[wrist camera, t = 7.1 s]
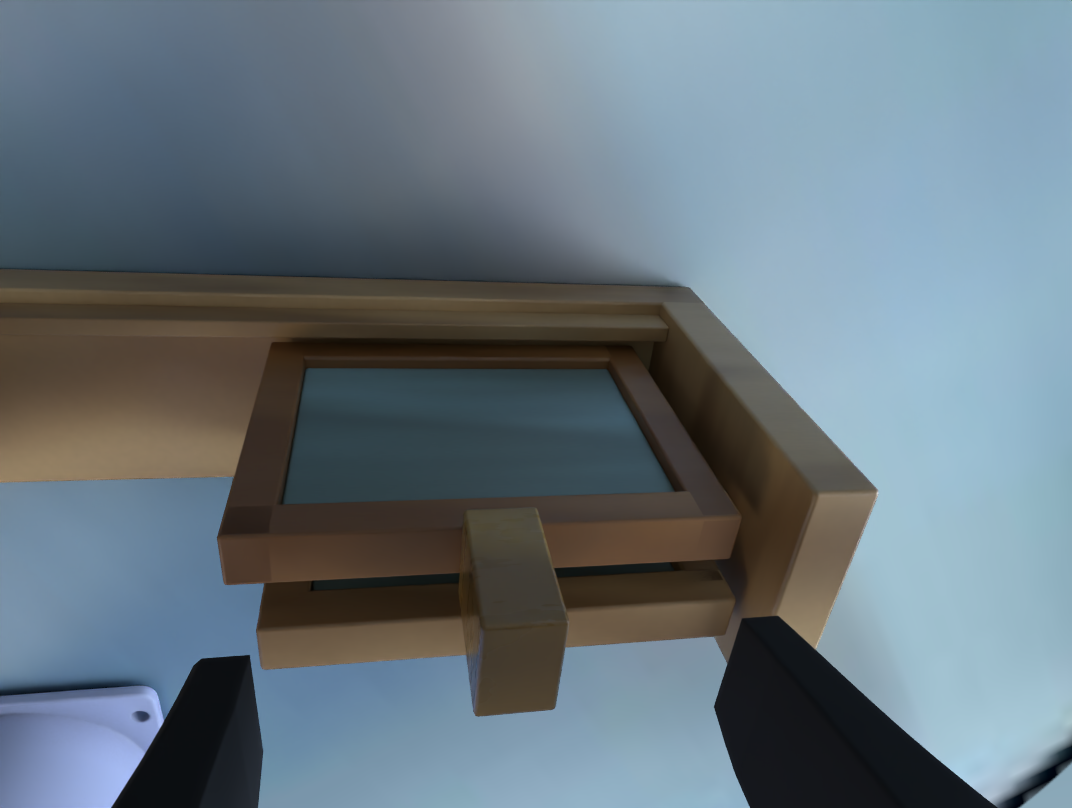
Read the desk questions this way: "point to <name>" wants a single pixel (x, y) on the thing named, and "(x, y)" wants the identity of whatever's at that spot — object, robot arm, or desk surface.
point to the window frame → (425, 318)
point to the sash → (470, 485)
